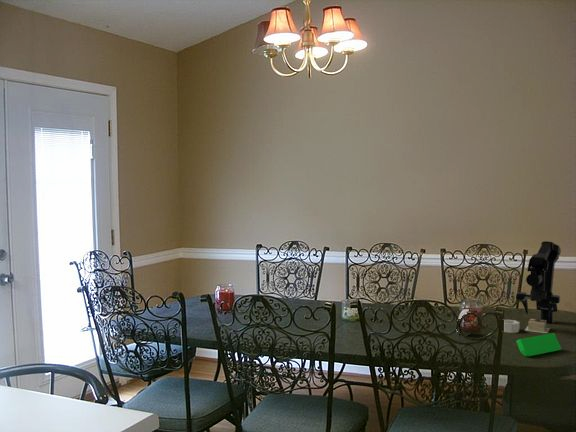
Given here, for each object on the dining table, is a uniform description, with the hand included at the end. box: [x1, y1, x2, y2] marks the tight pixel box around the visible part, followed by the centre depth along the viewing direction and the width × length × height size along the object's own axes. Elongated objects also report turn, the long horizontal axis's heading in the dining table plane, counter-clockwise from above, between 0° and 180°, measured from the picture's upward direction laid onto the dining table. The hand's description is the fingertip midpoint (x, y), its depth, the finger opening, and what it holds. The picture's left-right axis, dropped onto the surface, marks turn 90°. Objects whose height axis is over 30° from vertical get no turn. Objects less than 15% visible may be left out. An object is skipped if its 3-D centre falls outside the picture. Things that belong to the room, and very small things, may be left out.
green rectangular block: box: [516, 332, 562, 357], centre depth 239 cm, size 20×10×7 cm, turn 116°
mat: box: [524, 325, 551, 334], centre depth 272 cm, size 10×10×1 cm
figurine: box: [456, 308, 469, 333], centre depth 265 cm, size 7×8×12 cm
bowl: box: [503, 319, 520, 334], centre depth 271 cm, size 8×8×4 cm
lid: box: [527, 318, 547, 333], centre depth 272 cm, size 7×7×5 cm
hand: (537, 315), depth 272 cm, fingers open, 9 cm apart
